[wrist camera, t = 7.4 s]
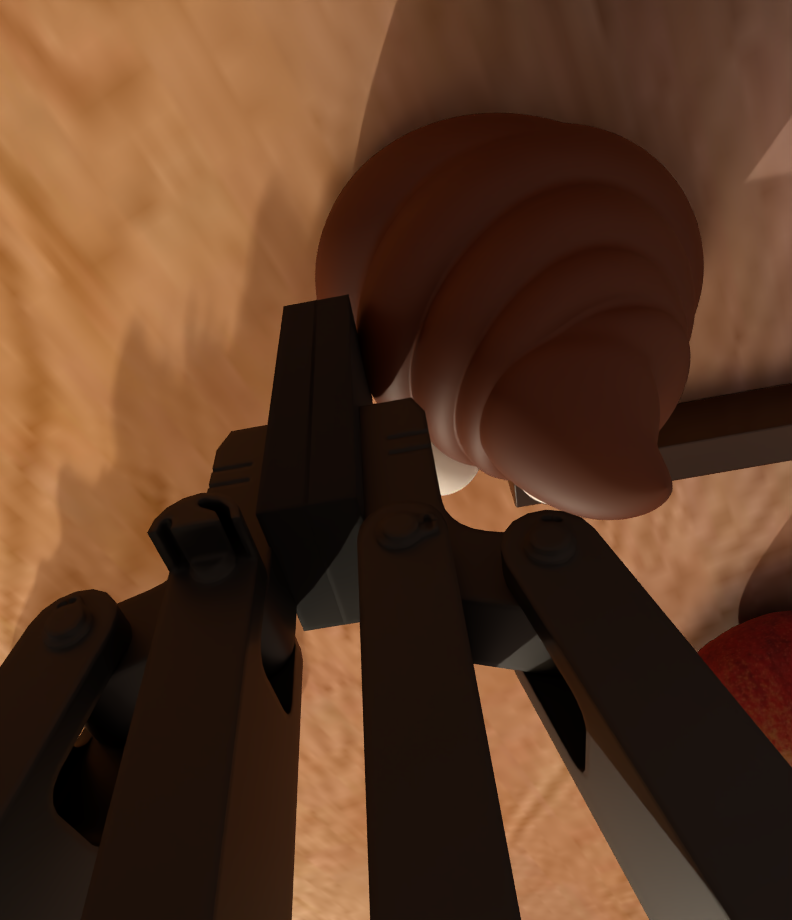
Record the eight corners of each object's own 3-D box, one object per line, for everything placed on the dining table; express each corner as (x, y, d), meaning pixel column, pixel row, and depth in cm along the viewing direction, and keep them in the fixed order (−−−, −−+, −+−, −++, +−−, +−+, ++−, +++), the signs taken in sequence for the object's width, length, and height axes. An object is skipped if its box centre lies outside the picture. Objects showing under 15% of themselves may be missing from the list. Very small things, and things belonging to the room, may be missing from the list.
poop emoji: (735, 140, 17) (1042, 309, 9) (609, 417, 22) (744, 664, 15) (335, 65, 15) (335, 199, 8) (302, 384, 20) (283, 643, 13)
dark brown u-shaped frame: (447, -154, 13) (462, -164, 11) (1236, -334, 12) (1369, -371, 11) (503, 468, 23) (515, 508, 21) (936, 392, 22) (981, 428, 21)
